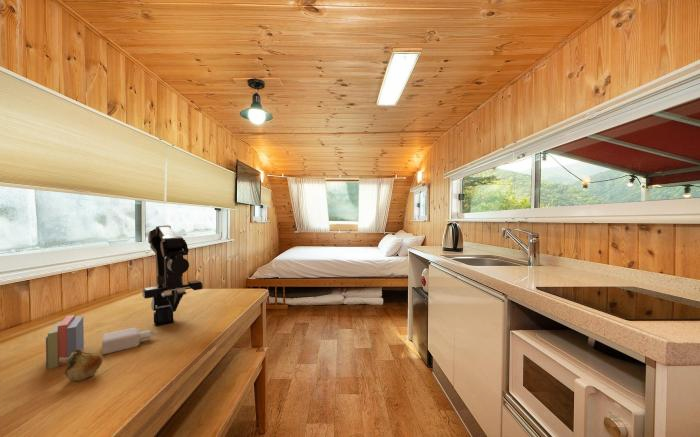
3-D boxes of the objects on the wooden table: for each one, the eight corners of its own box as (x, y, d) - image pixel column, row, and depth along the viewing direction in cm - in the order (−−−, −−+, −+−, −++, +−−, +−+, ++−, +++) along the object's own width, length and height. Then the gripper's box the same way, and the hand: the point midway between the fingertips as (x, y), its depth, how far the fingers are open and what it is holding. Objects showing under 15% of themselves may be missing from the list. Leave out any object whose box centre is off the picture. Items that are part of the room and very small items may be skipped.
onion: (76, 388, 72) (76, 357, 72) (56, 383, 75) (56, 353, 75) (109, 372, 80) (108, 344, 80) (90, 368, 82) (89, 341, 82)
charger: (158, 342, 99) (102, 356, 90) (156, 334, 107) (104, 346, 97) (157, 329, 99) (101, 341, 90) (156, 322, 107) (103, 332, 97)
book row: (83, 348, 96) (83, 313, 96) (76, 362, 86) (75, 323, 86) (56, 353, 92) (55, 317, 92) (45, 369, 82) (44, 328, 82)
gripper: (194, 264, 118) (195, 301, 118) (139, 270, 105) (140, 312, 105) (202, 268, 110) (203, 307, 110) (144, 275, 97) (145, 319, 97)
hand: (174, 311), depth 106 cm, fingers closed
